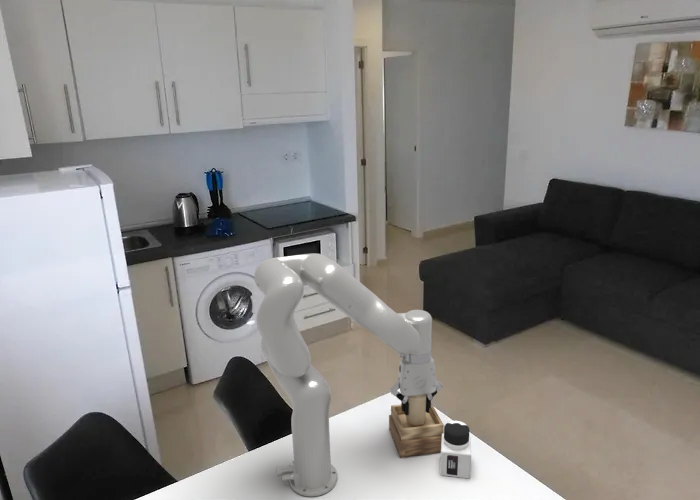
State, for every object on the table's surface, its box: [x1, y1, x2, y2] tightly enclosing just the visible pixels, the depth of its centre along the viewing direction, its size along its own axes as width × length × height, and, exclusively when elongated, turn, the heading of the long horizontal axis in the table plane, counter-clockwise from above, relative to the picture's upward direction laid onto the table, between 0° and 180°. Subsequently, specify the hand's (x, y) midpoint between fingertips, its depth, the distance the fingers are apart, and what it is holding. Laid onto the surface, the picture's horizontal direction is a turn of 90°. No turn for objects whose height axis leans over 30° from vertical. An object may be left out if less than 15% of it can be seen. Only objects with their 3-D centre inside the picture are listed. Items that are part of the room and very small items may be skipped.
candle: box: [406, 394, 426, 426], centre depth 148 cm, size 6×6×10 cm
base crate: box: [388, 414, 442, 459], centre depth 151 cm, size 13×13×5 cm
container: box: [439, 420, 472, 479], centre depth 139 cm, size 8×8×13 cm
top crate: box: [390, 402, 445, 441], centre depth 150 cm, size 12×12×4 cm
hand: (416, 410), depth 149 cm, fingers closed on candle, 5 cm apart
